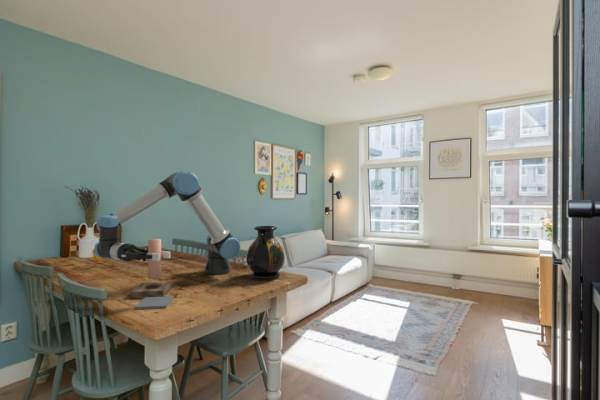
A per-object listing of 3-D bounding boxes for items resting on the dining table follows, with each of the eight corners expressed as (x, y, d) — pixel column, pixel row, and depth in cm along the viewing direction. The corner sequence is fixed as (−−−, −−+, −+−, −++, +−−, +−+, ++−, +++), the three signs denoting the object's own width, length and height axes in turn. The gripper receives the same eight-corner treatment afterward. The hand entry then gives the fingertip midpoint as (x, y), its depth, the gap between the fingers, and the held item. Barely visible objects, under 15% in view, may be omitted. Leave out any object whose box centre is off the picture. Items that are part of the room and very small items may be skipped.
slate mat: (173, 298, 140) (173, 296, 140) (166, 308, 128) (166, 305, 128) (145, 299, 138) (145, 297, 138) (134, 309, 127) (134, 307, 127)
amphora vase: (279, 283, 165) (279, 229, 164) (240, 281, 168) (240, 228, 168) (288, 273, 186) (288, 225, 185) (253, 271, 190) (253, 224, 189)
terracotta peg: (162, 276, 136) (162, 238, 136) (159, 279, 131) (159, 240, 131) (150, 276, 135) (150, 238, 135) (146, 279, 130) (146, 240, 130)
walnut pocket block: (171, 288, 155) (171, 282, 155) (163, 297, 141) (163, 290, 141) (141, 289, 153) (141, 283, 153) (130, 298, 140) (130, 291, 139)
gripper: (141, 256, 148) (180, 261, 139) (105, 264, 131) (146, 269, 123) (141, 240, 148) (180, 243, 139) (104, 246, 131) (146, 250, 122)
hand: (164, 256), depth 131 cm, fingers closed on terracotta peg, 5 cm apart
